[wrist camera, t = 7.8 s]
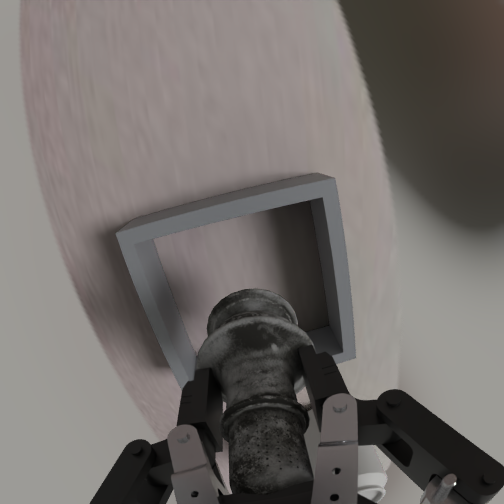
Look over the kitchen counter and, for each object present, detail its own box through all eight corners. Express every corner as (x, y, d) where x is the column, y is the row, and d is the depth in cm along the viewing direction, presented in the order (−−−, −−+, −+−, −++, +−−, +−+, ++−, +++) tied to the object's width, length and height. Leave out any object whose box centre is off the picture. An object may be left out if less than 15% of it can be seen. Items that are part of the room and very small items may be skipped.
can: (302, 445, 32) (321, 527, 20) (284, 411, 29) (304, 508, 18) (360, 424, 31) (393, 502, 20) (352, 387, 29) (393, 477, 18)
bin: (133, 219, 22) (115, 233, 18) (317, 172, 22) (335, 178, 18) (189, 366, 27) (185, 396, 23) (341, 331, 26) (356, 358, 23)
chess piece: (247, 381, 19) (263, 555, 8) (181, 325, 17) (140, 521, 6) (321, 330, 18) (398, 505, 7) (258, 262, 16) (307, 468, 5)
